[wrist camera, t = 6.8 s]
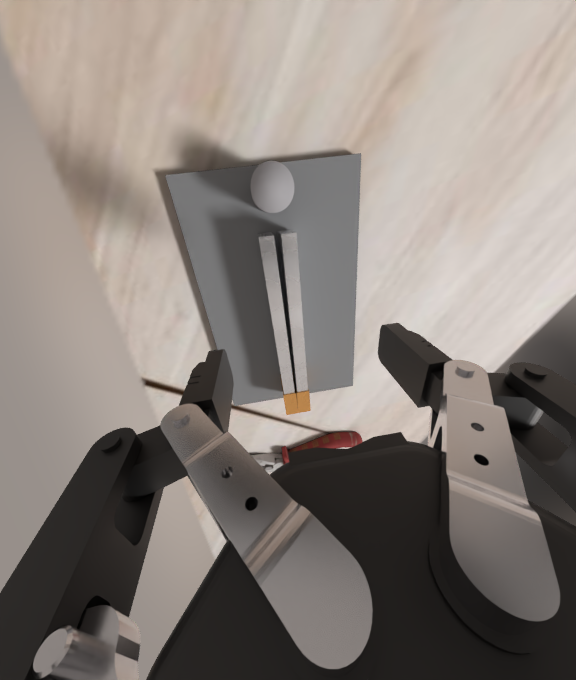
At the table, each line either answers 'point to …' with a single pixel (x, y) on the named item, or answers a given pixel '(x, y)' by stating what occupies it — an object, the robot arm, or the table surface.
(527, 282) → the table surface
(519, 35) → the table surface
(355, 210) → the mat
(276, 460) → the pliers
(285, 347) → the leg
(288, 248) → the leg
